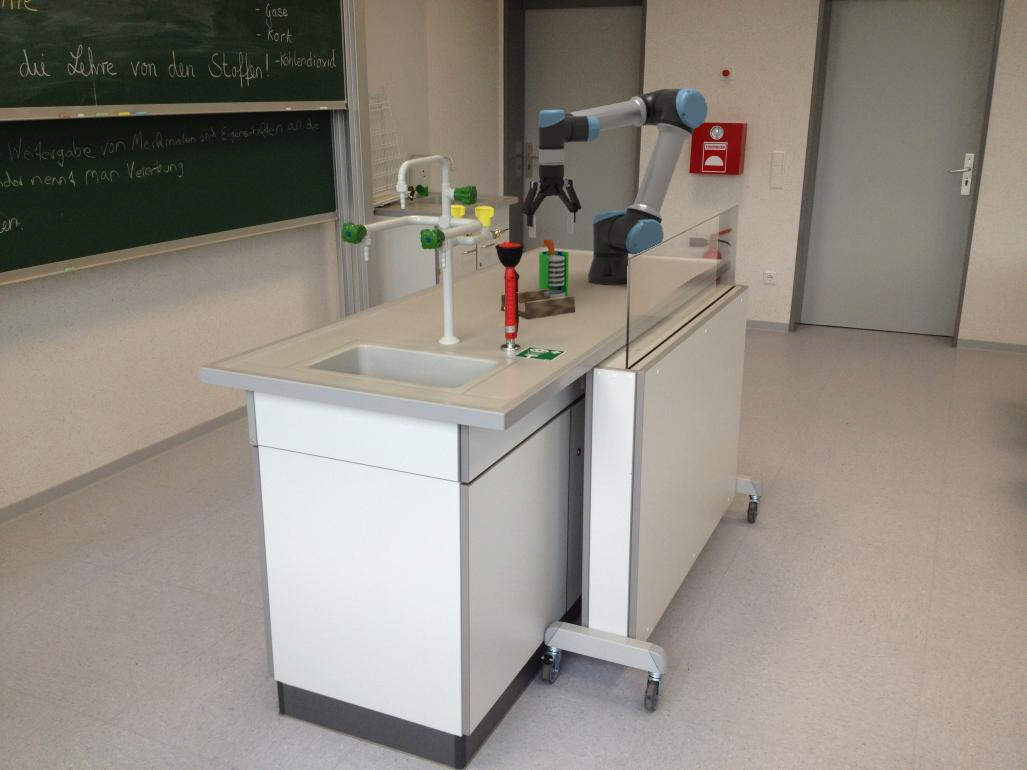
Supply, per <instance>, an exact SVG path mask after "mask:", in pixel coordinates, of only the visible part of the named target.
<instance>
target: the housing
mask: <svg viewBox="0 0 1027 770" xmlns="http://www.w3.org/2000/svg"><path fill="white" fill-rule="evenodd" d="M517 293H518V303H519V316H518V317H521V316H522V318H524V317H525V318H524V319H527V318H528V319H527V320H532V319H536V318H543V317H550V316H557V315H562V314H563V315H564V314H569V313H576V306H575V305H576V302H575V301H576V300H575V297H576V296H575V295H568V296H565V297H558V298H551V299H550V289H548V288H546V289H539V288H538V289H533V290H526V291H518V292H517ZM505 294H506V293H504V294H501V295H500V296H501V298H500V299H501V306H500V308H501V311H504V307H505ZM502 309H503V310H502ZM520 315H521V316H520ZM531 318H532V319H531Z"/></svg>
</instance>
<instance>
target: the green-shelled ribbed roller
mask: <svg viewBox="0 0 1027 770" xmlns="http://www.w3.org/2000/svg"><path fill="white" fill-rule="evenodd" d="M542 244H543V246H542V247H547V250H544V251H540V252H539V253H538V254H539V255H538V259H539V261H538V266H539V267H538V290H539V289H546V288H548V289H550V299H551V298H558V297H565V296H569V251H568V252H567V251H565V250H563V251H562V250H555V243H554V241H553V240H552V239H550V238H549V239H543V243H542Z"/></svg>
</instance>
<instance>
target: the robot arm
mask: <svg viewBox="0 0 1027 770" xmlns="http://www.w3.org/2000/svg"><path fill="white" fill-rule="evenodd" d="M707 115H708V104H707V102H706V98H705V96H704V95H703V94H702V93H701V92H700V91H699V90H697V89H694V88H688V87H683V88H661V89H658V90H657V89H656V90H654V91H651V92H647V93H644V94H643V93H642V94H640V95H636V96H632V97H631V98H630V99H629V100H626V101H622V102H621V101H620V102H617V103H611V104H607V105H602V106H601V105H600V106H596V107H591V108H586V109H581V110H576V111H571V112H567V113H565V111H564V110H563V109H542V110H540V112H539V114H538V124H537V128H538V162H539V163H540V164H539V165H538V178H539V181H529V182H530V183H529V189H528V192H527V195H526V197H525V198H524V202H523V204H522V207H521V210H520V213H521V214H524V215H525V216H526V226H527V227H528V238H531V239H536V238H537V215H535V214H536V212H537V210H538V209H539V207H540V206H541V204H542V202H543V201H544V200H545V199H546V198H547V197H552V196H557V197H558V198H559V199H560V200H561V202H562V203H563V204H564V206H565V207H566V208H567V210H568V211H567V212H566V234H569V235H574V232H575V225H574V224H575V223H576V220H577V219H576V216H577V215H576V213H578V212H579V210H582V206H581V203H580V200H579V197H578V195H577V193H576V191H575V188H574V182H573V179H568V178H566V179H564V177H565V165H564V163H565V144H566V143H588V142H595V141H596V140H597V139H598V138H599V136H600V134H601V133H600V132H604V131H605V132H606V131H608V130H614V129H618V128H623V127H627V126H628V127H629V126H634V127H638V128H639V127H643V126H645V127H646V126H655V127H656V129H657V130H658V134H657V138H656V141H655V144H654V146H653V150H652V152H651V155H650V158H649V161H648V163H647V166H646V169H645V171H644V175H643V178H642V180H641V182H640V186H639V189H638V191H637V195H636V197H635V199H634V203H633V204H632V205H629V206H628V207H627V208H626V209H625V210H612V211H611V210H610V211H603V212H602V211H601V212H600V211H599V212H596V213H595V214H594V217H593V223H592V227H593V240H592V241H593V249H592V250H593V258H592V261H591V264H590V267H589V271H588V273H587V280H589V281H588V282H590V281H591V282H590V283H593V282H594V283H593V284H598V283H600V284H601V285H621V284H628V283H627V266H628V260H629V261H630V259H629V258H630V257H629V254H631V255H633V256H635V255H634V254H637V253H640V252H642V251H644V250H647V249H649V248H651V247H653V246H655V245H657V244H659V243H661V242H662V243H663V239H664V231H663V230H664V229H663V228H664V227H662V221H663V217H662V215H661V210H662V206H663V203H664V200H665V198H666V194H667V193H668V192H667V191H668V190H669V188H670V184H671V181H672V179H673V175H674V173H675V170H676V166H677V164H678V163H679V158H680V156H681V153H682V150H683V148H684V147H683V146H684V144H685V142H686V141H687V140H688V139H691V138H692V136H693V133H694V131H695V129H696V128H699V127H700V126H702V125H703V124H704V123H705V121H706V119H707ZM564 187H565V189H566V191H565V190H564V189H563V188H564ZM538 189H539V190H538ZM566 193H567V194H568V196H567V194H566ZM662 243H661V244H662Z"/></svg>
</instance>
